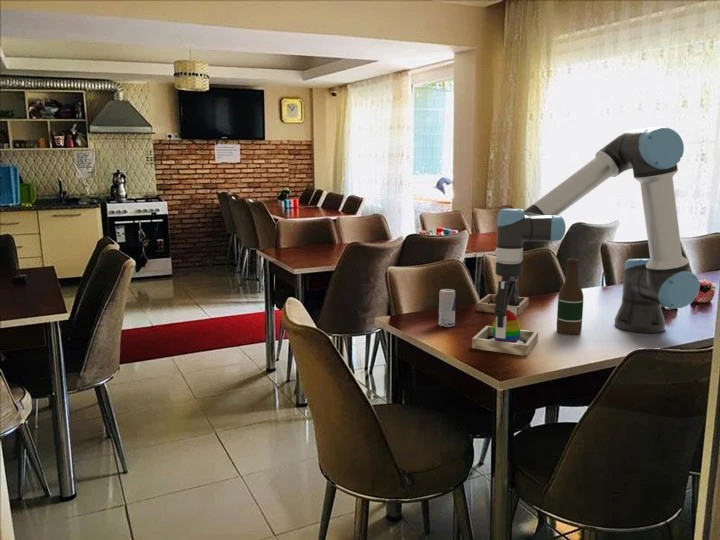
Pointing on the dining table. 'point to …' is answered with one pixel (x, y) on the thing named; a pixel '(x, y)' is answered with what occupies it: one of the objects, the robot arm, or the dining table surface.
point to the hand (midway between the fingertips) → (506, 332)
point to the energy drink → (447, 307)
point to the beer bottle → (570, 302)
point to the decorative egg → (509, 328)
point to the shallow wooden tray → (505, 347)
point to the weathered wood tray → (486, 307)
